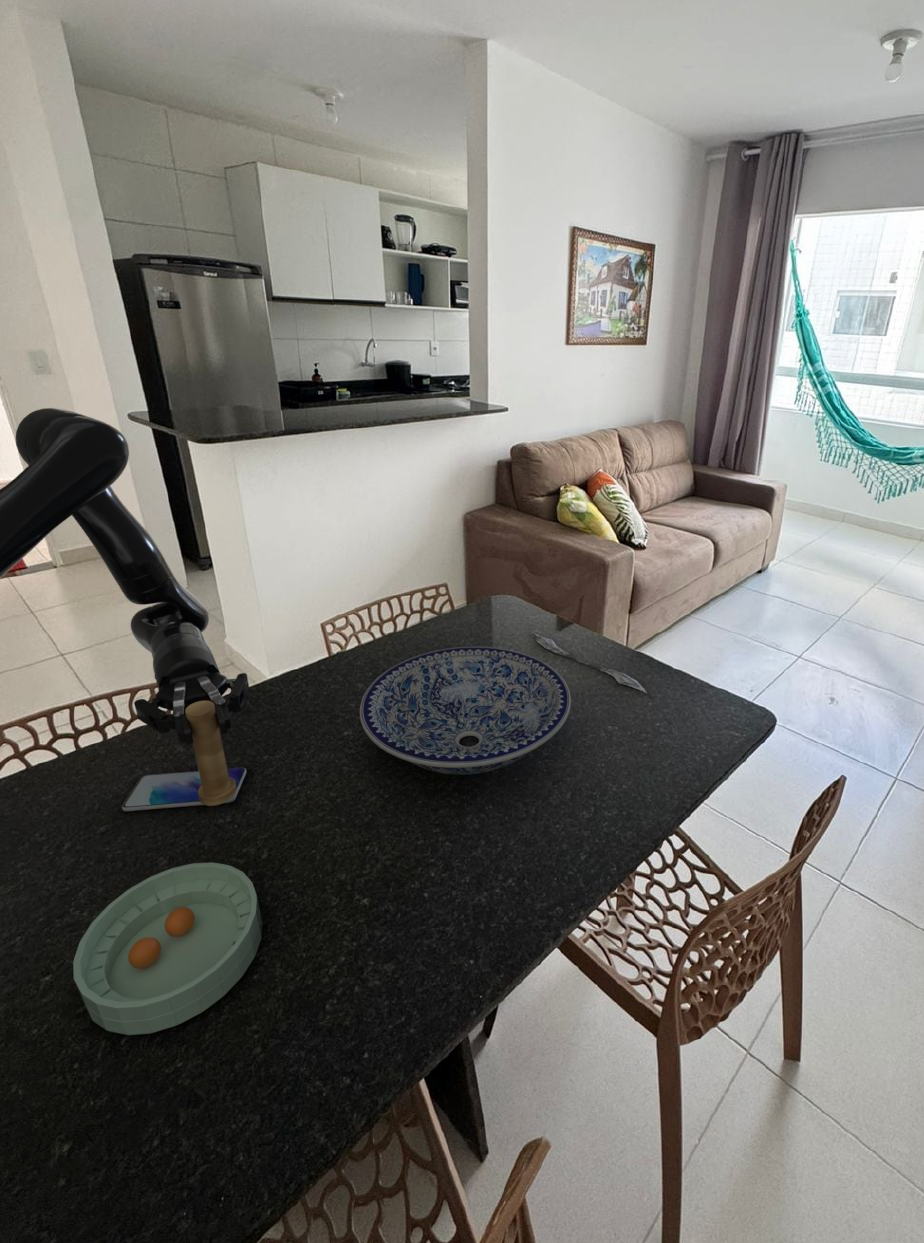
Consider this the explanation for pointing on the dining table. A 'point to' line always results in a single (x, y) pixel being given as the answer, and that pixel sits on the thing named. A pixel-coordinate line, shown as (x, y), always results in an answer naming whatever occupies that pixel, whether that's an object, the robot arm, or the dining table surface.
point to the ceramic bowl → (465, 708)
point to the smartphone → (172, 790)
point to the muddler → (209, 754)
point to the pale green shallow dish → (169, 949)
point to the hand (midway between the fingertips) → (206, 732)
